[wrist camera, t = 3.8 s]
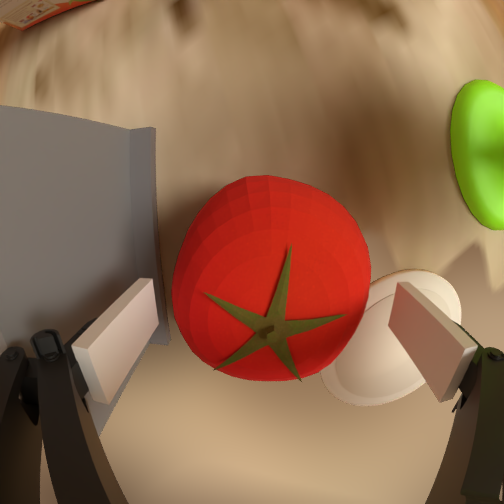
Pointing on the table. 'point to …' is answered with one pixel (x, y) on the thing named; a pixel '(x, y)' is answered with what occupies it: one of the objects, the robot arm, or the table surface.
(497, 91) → the wineglass
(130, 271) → the grey board
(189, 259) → the tomato
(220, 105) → the table surface
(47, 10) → the cracker box
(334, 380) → the plate
